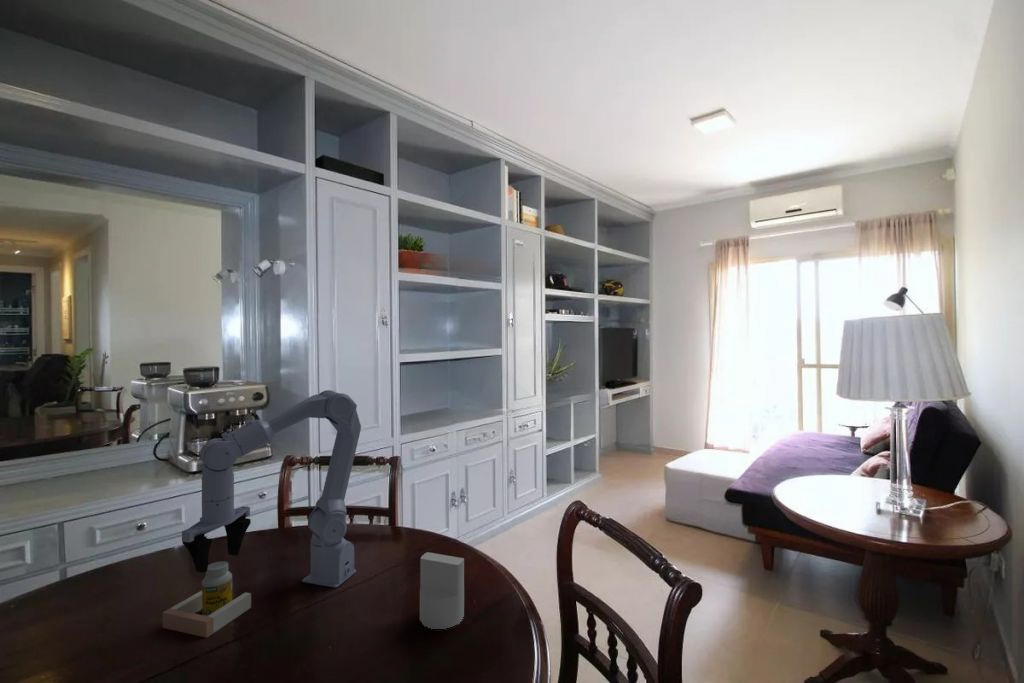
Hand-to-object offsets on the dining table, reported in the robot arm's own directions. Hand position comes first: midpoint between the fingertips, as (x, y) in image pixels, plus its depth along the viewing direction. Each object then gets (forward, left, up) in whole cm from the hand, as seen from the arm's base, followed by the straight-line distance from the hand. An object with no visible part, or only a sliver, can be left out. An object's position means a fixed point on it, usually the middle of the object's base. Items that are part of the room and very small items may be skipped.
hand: (218, 562), depth 99 cm
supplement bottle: (0, 0, -10) cm, 10 cm away
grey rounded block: (-45, -11, -10) cm, 48 cm away
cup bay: (0, +2, -10) cm, 10 cm away
